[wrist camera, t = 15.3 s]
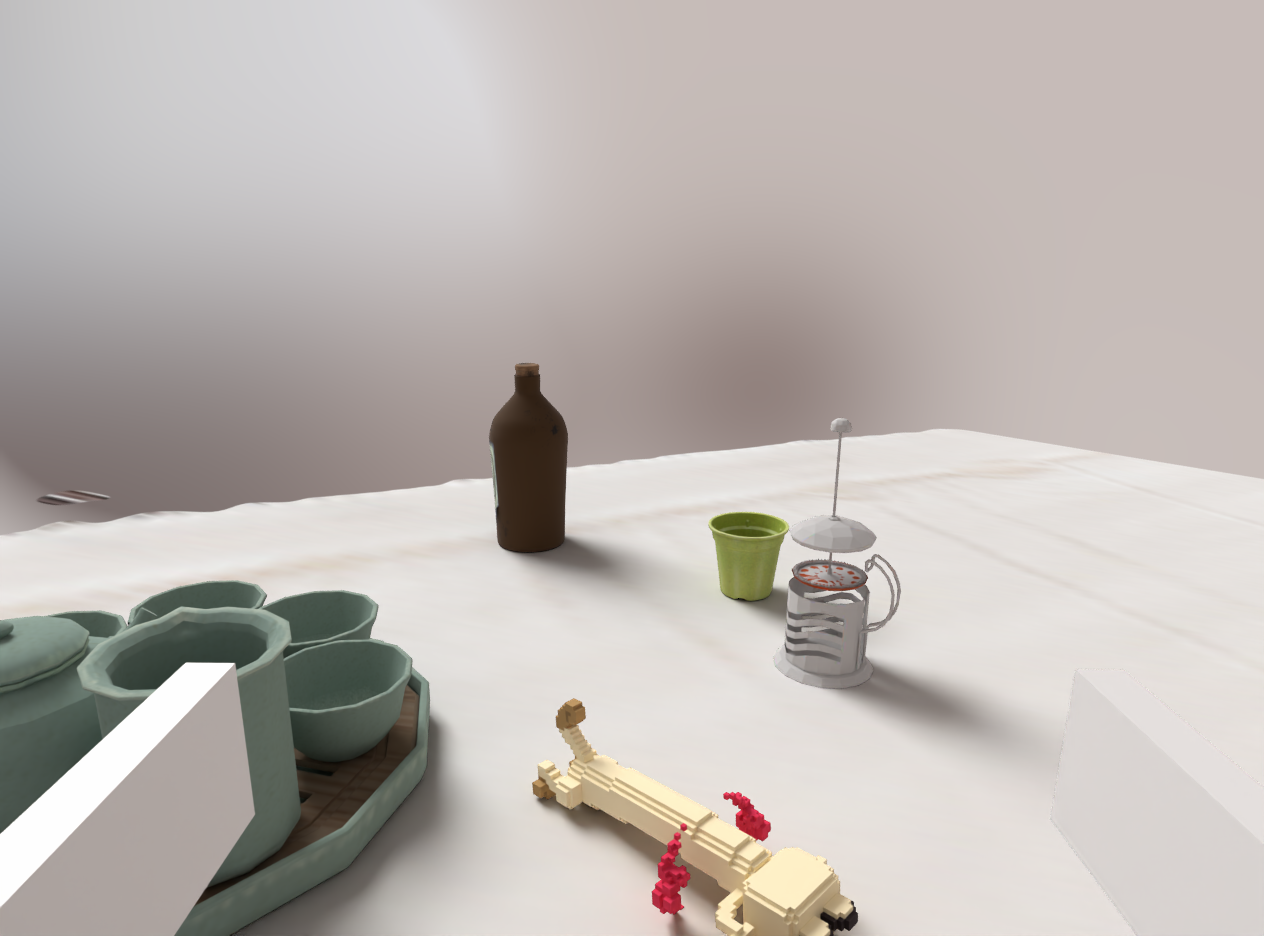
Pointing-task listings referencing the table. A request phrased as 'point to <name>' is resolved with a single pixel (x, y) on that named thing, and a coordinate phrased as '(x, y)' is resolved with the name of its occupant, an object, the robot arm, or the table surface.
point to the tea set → (271, 711)
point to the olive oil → (529, 467)
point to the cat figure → (704, 845)
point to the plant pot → (747, 552)
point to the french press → (840, 648)
